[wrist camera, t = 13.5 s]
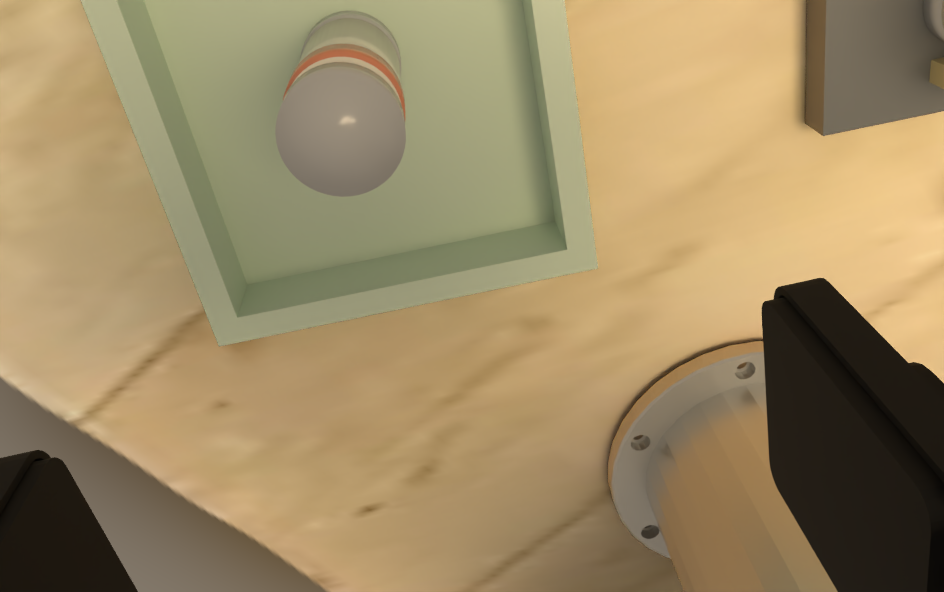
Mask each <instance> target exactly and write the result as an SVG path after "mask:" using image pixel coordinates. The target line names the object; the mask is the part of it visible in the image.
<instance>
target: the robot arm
mask: <svg viewBox="0 0 944 592" xmlns="http://www.w3.org/2000/svg"><path fill="white" fill-rule="evenodd" d="M762 328H763V341H755V342H749V343H743V344H737V345H730V346H727V347H724V348H721V349H718V350H715V351H712V352H709V353H706V354H703V355H701V356H699V357H697V358H695V359H693V360H691V361H689V362H687V363H685V364H683V365H681V366H679V367H677V368H676V369H674V370H673V371H672V372H670V373H669V374H667V375H666V376H665V377H663V378H662V379H660V380H659V381H657V382H656V383H655V384H654V385H653V386H652V387H651V388H650V389H649V390H648V391H647V392H646V393H645V394H644V395H643V396H642V397H641V398H640V399H638V400H637V402H636V403H635V404H634V406H633V407H632V408H631V410H630V411H629V413H628V414H627V415H626V417H625V418H624V420H623V421H622V423H621V425H620V427H619V429H618V431H617V434H616V436H615V438H614V440H613V442H612V447H611V451H610V456H609V460H608V484H609V487H610V491H611V495H612V498H613V502H614V505H615V507H616V509H617V512H618V514H619V517H620V519H621V521H622V523H623V524H624V525H625V527H626V528H627V529H628V530H629V532H630V533H631V534H632V536H633V537H635V538H636V539H637V540H638V541H639V542H641V543H642V544H643V545H644V546H646V547H647V548H648V549H650V550H652V551H654V552H656V553H658V554H660V555H662V556H664V557H666V558H669V559H671V560H672V562H673V565H674V568H675V570H676V573H677V575H678V578H679V580H680V583H681V586H682V588H683V591H684V592H944V383H943V382H942V381H941V380H940V379H939V378H938V377H937V376H936V375H935V374H934V373H933V372H932V371H930V370H929V369H928V368H926V367H925V366H924V365H922V364H919V363H914V362H913V363H908V362H907V361H906V360H905V359H904V358H903V357H902V356H901V355H900V354H899V353H898V352H897V351H896V350H895V349H894V348H893V347H892V346H891V345H890V344H889V343H888V342H887V341H886V340H885V339H884V338H883V337H882V336H881V335H880V334H879V333H878V332H877V331H876V330H875V329H874V328H873V327H872V326H871V325H870V324H869V323H868V322H867V321H866V320H865V319H864V318H863V317H862V316H861V315H860V313H859V312H858V311H857V310H856V309H855V308H854V307H853V306H852V305H851V304H850V303H849V302H848V301H847V300H846V299H845V298H844V297H843V296H842V295H841V294H840V293H839V292H838V291H837V290H836V289H835V288H834V287H833V286H832V285H831V284H830V283H829V282H828V281H827V280H825V279H824V278H817V279H813V280H808V281H804V282H799V283H795V284H790V285H785V286H781V287H778V288H777V289H776V290H775V294H774V300H769V301H765V302H764V303H763V305H762ZM0 592H138V591H137V589H136V588H135V586H134V584H133V582H132V581H131V579H130V577H129V576H128V574H127V572H126V570H125V568H124V567H123V565H122V563H121V561H120V560H119V558H118V556H117V554H116V552H115V551H114V549H113V547H112V545H111V544H110V542H109V540H108V538H107V537H106V535H105V533H104V531H103V530H102V528H101V526H100V524H99V523H98V521H97V519H96V518H95V516H94V514H93V513H92V510H91V509H90V507H89V505H88V503H87V502H86V500H85V498H84V497H83V495H82V493H81V491H80V489H79V488H78V486H77V485H76V482H75V481H74V479H73V477H72V475H71V474H70V472H69V470H68V468H67V467H66V465H65V464H64V462H63V461H62V460H60V459H58V458H50V456H49V455H48V454H47V453H45V452H44V451H40V450H35V451H30V452H26V453H22V454H17V455H12V456H8V457H4V458H0Z"/></svg>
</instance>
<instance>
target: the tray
mask: <svg viewBox="0 0 944 592" xmlns="http://www.w3.org/2000/svg"><path fill="white" fill-rule="evenodd" d="M81 3H82V5H83V8H84V10H85V13H86V15H87V18H88V20H89V23H90V25H91V28H92V30H93V33H94V35H95V38H96V40H97V43H98V45H99V48H100V50H101V53H102V55H103V58H104V60H105V63H106V65H107V68H108V70H109V73H110V75H111V78H112V80H113V83H114V85H115V88H116V90H117V93H118V95H119V98H120V100H121V103H122V105H123V108H124V110H125V113H126V115H127V118H128V120H129V123H130V125H131V128H132V130H133V133H134V135H135V138H136V140H137V143H138V145H139V148H140V150H141V153H142V155H143V158H144V160H145V163H146V165H147V168H148V170H149V173H150V175H151V178H152V180H153V183H154V185H155V188H156V190H157V193H158V195H159V198H160V200H161V203H162V205H163V208H164V210H165V213H166V215H167V218H168V220H169V223H170V225H171V228H172V230H173V233H174V235H175V238H176V240H177V243H178V245H179V248H180V250H181V253H182V255H183V258H184V260H185V263H186V265H187V268H188V270H189V273H190V275H191V278H192V280H193V283H194V285H195V288H196V290H197V293H198V295H199V298H200V300H201V303H202V305H203V308H204V310H205V313H206V315H207V318H208V320H209V323H210V325H211V328H212V330H213V333H214V335H215V338H216V340H217V343H218V345H219V347H220V346H224V345H229V344H234V343H239V342H244V341H249V340H254V339H258V338H263V337H268V336H273V335H278V334H283V333H287V332H292V331H297V330H302V329H307V328H312V327H317V326H321V325H326V324H331V323H336V322H341V321H346V320H351V319H355V318H360V317H365V316H370V315H375V314H380V313H385V312H389V311H394V310H399V309H404V308H409V307H414V306H418V305H423V304H428V303H433V302H438V301H443V300H448V299H452V298H457V297H462V296H467V295H472V294H477V293H482V292H486V291H491V290H496V289H501V288H506V287H511V286H516V285H520V284H525V283H530V282H535V281H540V280H545V279H550V278H554V277H559V276H564V275H569V274H574V273H579V272H583V271H588V270H593V269H598V263H597V255H596V247H595V239H594V231H593V223H592V215H591V208H590V200H589V192H588V184H587V176H586V168H585V160H584V152H583V144H582V136H581V128H580V120H579V112H578V104H577V96H576V88H575V80H574V72H573V64H572V56H571V48H570V40H569V32H568V24H567V16H566V8H565V0H81ZM339 11H359V12H363V13H366V14H369V15H371V16H373V17H375V18H376V19H378V20H379V21H381V22H382V23H383V24H384V25H385V26H386V27H387V28H388V29H389V30H390V32H391V33H392V34H393V36H394V38H395V40H396V42H397V44H398V47H399V51H400V57H401V78H400V79H401V85H402V89H403V93H404V99H405V117H406V119H405V129H406V143H405V149H404V153H403V157H402V159H401V162H400V164H399V165H398V167H397V169H396V170H395V172H394V173H393V174H392V176H391V177H390V178H389V179H388V180H387V181H385V182H384V183H383V184H382V185H380V186H379V187H377V188H375V189H373V190H371V191H369V192H367V193H364V194H360V195H356V196H347V197H340V196H331V195H327V194H323V193H320V192H317V191H315V190H313V189H311V188H309V187H308V186H306V185H304V184H303V183H302V182H300V181H299V180H298V179H297V178H296V177H295V176H294V175H293V174H292V173H291V172H290V171H289V169H288V168H287V167H286V165H285V164H284V162H283V160H282V158H281V156H280V153H279V151H278V147H277V143H276V135H275V130H276V121H277V116H278V113H279V110H280V107H281V104H282V102H283V97H284V94H285V91H286V88H287V85H288V82H289V80H290V77H291V75H292V73H293V71H294V70H295V68H296V67H297V65H298V64H299V61H300V57H301V52H302V49H303V46H304V43H305V40H306V38H307V36H308V34H309V32H310V31H311V29H312V28H313V27H314V26H315V25H316V24H317V23H318V22H319V21H320V20H321V19H323V18H325V17H326V16H328V15H330V14H333V13H336V12H339Z"/></svg>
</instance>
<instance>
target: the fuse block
mask: <svg viewBox="0 0 944 592" xmlns="http://www.w3.org/2000/svg"><path fill="white" fill-rule="evenodd" d="M923 2H924V0H807V27H806V109H805V124H807V125H808V126H810V127H811V128H813V129H814V130H815V131H817V132H818V133H820V134H821V135H823V136H825V135H830V134H835V133H840V132H845V131H850V130H854V129H859V128H864V127H869V126H874V125H879V124H883V123H888V122H893V121H898V120H903V119H907V118H912V117H917V116H922V115H927V114H932V113H936V112H941V111H944V42H943V41H941V40H939V39H938V38H936V37H935V36H934V35H933V34H932V33H931V32H930V31H929V29H928V27H927V25H926V23H925V20H924V15H923Z"/></svg>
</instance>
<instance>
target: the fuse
mask: <svg viewBox="0 0 944 592" xmlns="http://www.w3.org/2000/svg"><path fill="white" fill-rule="evenodd" d="M923 15H924V20H925V23H926V25H927V27H928V29H929V31H930V32H931V33H932V34H933V35H934V36H935V37H936V38H938V39H939V40H941V41H943V42H944V0H924V2H923Z"/></svg>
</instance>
